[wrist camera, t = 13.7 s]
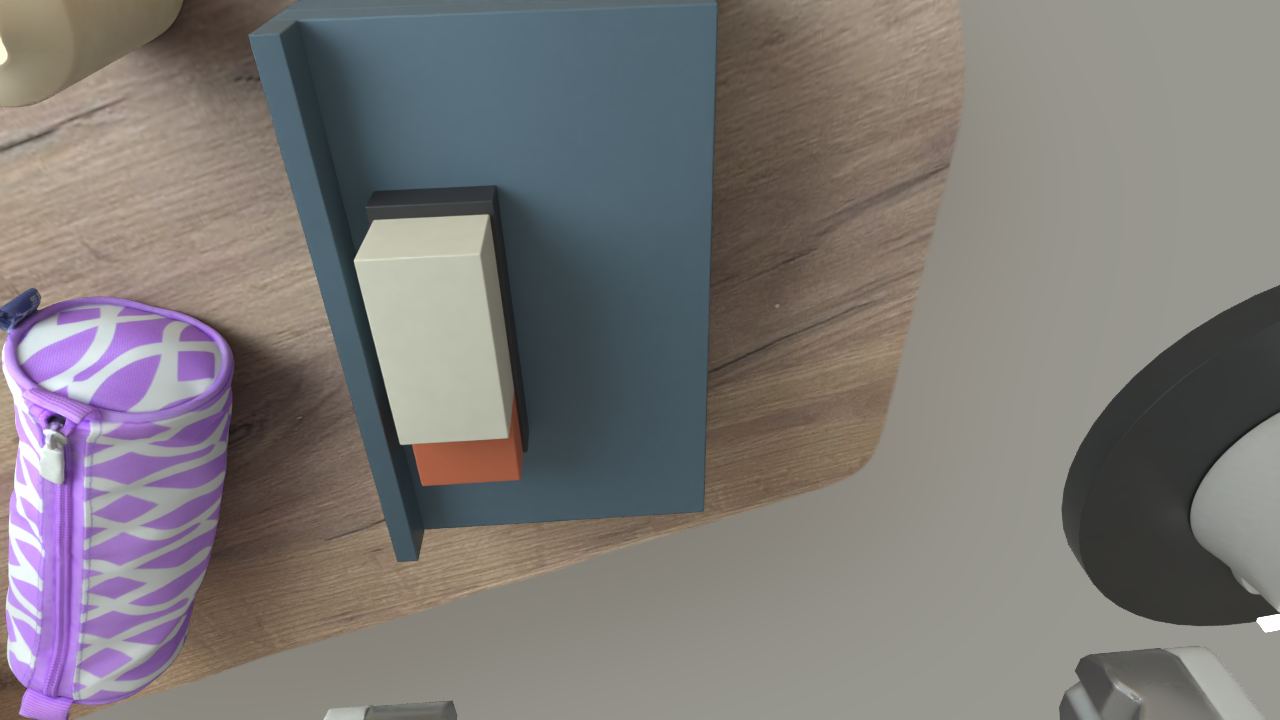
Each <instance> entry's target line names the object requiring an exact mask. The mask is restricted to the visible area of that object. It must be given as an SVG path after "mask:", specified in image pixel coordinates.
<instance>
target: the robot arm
mask: <svg viewBox="0 0 1280 720" xmlns="http://www.w3.org/2000/svg"><path fill="white" fill-rule="evenodd" d="M1190 523H1191V529H1192V532H1193V534H1194V536H1195V538H1196V540H1197V541H1198V543H1199V544H1200V545H1201V546H1202V547H1203V548H1204V549H1206V550H1207V551H1208V552H1210V553H1211V554H1213V555H1214V556H1215V557H1217V558H1218V559H1220V560H1221V561H1222V562H1224V563H1225V564H1226V565H1227V566H1229V567H1230V568H1231V571H1232V574H1233V576H1234V578H1235V579H1236V580H1237V581H1238V582H1239V583H1240V584H1241V585H1242V586H1243V587H1244V588H1245V589H1246V590H1247V591H1248V592H1250V593H1252V594H1260V595H1261V596H1262V597H1263V598H1265V599H1266V600H1267V601H1268V602H1269V603H1270V604H1271V605H1272V606H1273V607H1274V608H1275V609H1276V610H1277V611H1278V612H1279V613H1280V412H1279V413H1277V414H1276V415H1274V416H1272V417H1270V418H1269V419H1267V420H1266V421H1264V422H1262V423H1261V424H1259V425H1258V426H1257V427H1255V428H1254V429H1252V430H1251V431H1250V432H1248V433H1247V434H1246V435H1244V436H1243V437H1242V438H1241V439H1239V440H1238V441H1237V442H1236V443H1235V444H1234V445H1232V446H1231V447H1230V448H1229V449H1228V450H1227V451H1226V452H1225V453H1224V454H1223V455H1222V456H1221V457H1220V458H1219V459H1218V461H1217V462H1216V463H1215V464H1214V465H1213V467H1212V468H1211V469H1210V470H1209V472H1208V473H1207V474H1206V476H1205V477H1204V479H1203V481H1202V482H1201V484H1200V486H1199V488H1198V490H1197V492H1196V494H1195V497H1194V500H1193V503H1192V507H1191V513H1190ZM1257 622H1258V623H1259V625H1260V626H1261V627H1262V628H1263V629H1264V630H1265V632H1268V631H1273V630H1279V629H1280V614H1279V615H1273V616H1267V617H1261V618H1258V619H1257ZM1075 672H1076V674H1077V675H1078V677H1079V679H1080V682H1078V683H1077V684H1075V685H1074V686H1072V687H1071V688H1070V689H1068V690H1067V691H1065V694H1064V696H1063V699H1062V701H1061V704H1060V707H1059V710H1060V720H1266V718H1265V717H1264V716H1263V715H1262V713H1261V712H1260V710H1259V709H1258V708H1257V706H1256V705H1255V704H1254V703H1253V701H1252V700H1251V699H1250V697H1249V696H1248V695H1247V693H1246V692H1245V691H1244V689H1243V688H1242V687H1241V685H1239V683H1238V681H1237V680H1236V679H1235V678H1234V676H1233V675H1232V674H1231V672H1230V671H1229V670H1228V668H1227V667H1226V666H1225V664H1224V663H1223V662H1222V660H1221V659H1220V658H1219V657H1218V656H1217V655H1216V654H1215V653H1214V652H1212V651H1211V650H1209V649H1208V648H1206V647H1200V646H1190V647H1178V648H1165V649H1161V648H1155V649H1145V650H1133V651H1122V652H1111V653H1100V654H1090V655H1088V656H1086V657H1084V658H1081V659H1080V662H1079V664H1078V665H1077V667H1076V669H1075ZM323 720H457V713H456V710H455V707H454V704H453V701H440V702H428V703H427V702H426V703H412V704H397V705H383V706H372V705H370V706H358V707H346V708H334V709H329V711H328V712H327V714H326V716H325V718H324V719H323Z"/></svg>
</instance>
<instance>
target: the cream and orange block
mask: <svg viewBox="0 0 1280 720" xmlns="http://www.w3.org/2000/svg"><path fill="white" fill-rule="evenodd" d="M365 209H366V213H367V217H368V222H369V226H370V228H369V230H368V233H367V235H366V237H365V239H364V241H363V243H362V245H361V247H360V249H359V251H358V253H357V255H356V257H355V259H354V264H355V268H356V272H357V276H358V280H359V284H360V288H361V292H362V296H363V300H364V304H365V308H366V312H367V316H368V319H369V323H370V327H371V331H372V335H373V339H374V343H375V347H376V351H377V355H378V359H379V363H380V367H381V371H382V375H383V379H384V383H385V387H386V391H387V395H388V399H389V403H390V407H391V410H392V414H393V418H394V422H395V426H396V430H397V434H398V438H399V442H400V445H407V444H412V446H413V450H414V454H415V458H416V463H417V467H418V471H419V475H420V479H421V483H422V486H433V485H449V484H465V483H481V482H497V481H513V480H520V479H521V471H522V459H523V452H527V451H528V441H529V425H528V418H527V410H526V403H525V395H524V388H523V380H522V373H521V365H520V358H519V350H518V343H517V335H516V328H515V320H514V312H513V305H512V297H511V290H510V282H509V275H508V267H507V260H506V252H505V245H504V237H503V230H502V222H501V215H500V207H499V200H498V192H497V186H496V185H490V186H469V187H449V188H428V189H407V190H387V191H374V192H373V193H372V195H371V197H370V199H369V201H368V203H367V205H366V207H365Z"/></svg>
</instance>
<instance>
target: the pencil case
mask: <svg viewBox="0 0 1280 720" xmlns="http://www.w3.org/2000/svg"><path fill="white" fill-rule="evenodd" d="M40 299H41V296H40V294H39V292H38V291H37V290H36V289H34V288H31V289H29V290H27V291H25V292H24V293H22V294H21V295H19V296H18V297H16V298H15V299H13V300H12V301H10V302H9V303H7V304H6V305H4V306H3V307H1V308H0V328H1V329H2V330H4V331H6V332H7V333H8V334H9V336H8V338H7V340H6V342H5V344H4V348H3V351H2V367H3V372H4V375H5V377H6V380H7V383H8V386H9V389H10V391H11V393H12V394H13V396H14V406H15V414H16V418H15V423H16V429H17V432H18V435H19V438H20V442H19V448H18V454H17V461H16V468H15V477H14V487H15V489H14V491H13V493H12V495H11V499H10V504H9V507H10V517H9V588H8V593H7V599H6V621H7V628H8V634H9V636H8V643H7V659H8V663H9V666H10V668H11V670H12V672H13V674H14V675H15V676H16V678H17V679H18V680H19V681H20V682H21V683H22V684H23V685H24V686H25V687H26V688H28V689H27V690H26V692H25V695H23V698H22V703H21V709H20V711H19V714H20V715H22V716H24V717H28V718H33V719H39V720H68V718H69V713H68V711H69V709H70V707H71V705H72V704H73V703H77V704H83V705H103V704H109V703H113V702H117V701H120V700H123V699H126V698H128V697H130V696H132V695H134V694H136V693H137V692H139V691H141V690H142V689H144V688H145V687H146V686H148V685H149V684H150V683H151V682H153V681H154V680H155V679H156V678H157V677H159V676H160V675H161V674H162V673H163V672H164V671H165V670H166V669H167V668H168V667H169V666H170V665H171V664H172V663H173V662H174V661H175V659H176V658H177V656H178V655H179V653H180V651H181V649H182V647H183V645H184V643H185V640H186V638H187V635H188V631H189V625H190V618H191V613H192V610H193V604H194V597H195V595H196V593H197V591H198V590H199V588H200V585H201V583H202V581H203V579H204V576H205V573H206V570H207V567H208V564H209V560H210V556H211V551H212V547H213V542H214V538H215V534H216V530H217V525H218V519H219V511H220V506H221V499H222V492H223V485H224V479H225V474H226V466H227V445H228V437H229V426H230V421H231V413H232V400H233V396H232V390H231V382H232V378H233V373H234V358H233V354H232V351H231V349H230V347H229V345H228V343H227V341H226V340H225V339H224V338H223V337H222V336H221V335H220V334H219V333H218V332H217V331H216V330H214V329H213V328H211V327H210V326H208V325H206V324H204V323H202V322H200V321H199V320H198V319H196V318H194V317H191V316H188V315H186V314H183V313H181V312H177V311H174V310H166V309H162V308H158V307H153V306H149V305H146V304H143V303H139V302H135V301H131V300H127V299H121V298H114V297H98V296H96V297H84V298H77V299H71V300H67V301H63V302H59V303H56V304H53V305H51V306H48V307H46V308H44V309H41V310H37V307H38V306H39V304H40Z"/></svg>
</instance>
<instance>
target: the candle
mask: <svg viewBox="0 0 1280 720" xmlns="http://www.w3.org/2000/svg"><path fill="white" fill-rule="evenodd" d="M182 3H183V0H0V107H23V106H29V105H33V104H36V103H39V102H42V101H44V100H46V99H48V98H50V97H52V96H54V95H55V94H57V93H59V92H61V91H62V90H64V89H66V88H68V87H70V86H71V85H73V84H75V83H77V82H79V81H80V80H82V79H84V78H86V77H87V76H89V75H91V74H93V73H95V72H96V71H98V70H100V69H102V68H103V67H105V66H107V65H109V64H111V63H112V62H114V61H116V60H118V59H119V58H121V57H123V56H125V55H127V54H128V53H130V52H132V51H134V50H135V49H137V48H139V47H141V46H143V45H144V44H146V43H148V42H150V41H151V40H153V39H154V38H156V37H158V36H159V35H160V34H162V33H163V32H165V31H166V30H167V29H168V28H169V27H170V26H171V25H172V23H173V22H174V20H175V19H176V17H177V16H178V14H179V12H180V10H181V7H182Z"/></svg>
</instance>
